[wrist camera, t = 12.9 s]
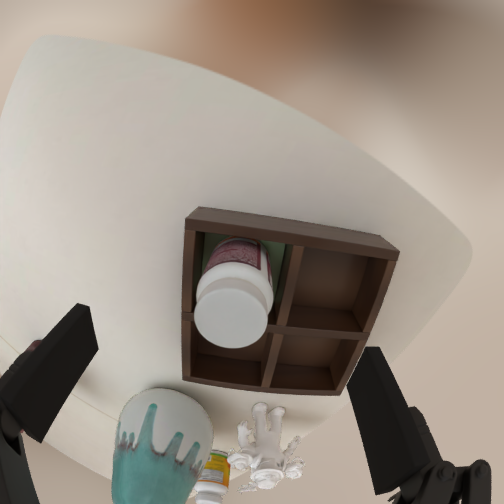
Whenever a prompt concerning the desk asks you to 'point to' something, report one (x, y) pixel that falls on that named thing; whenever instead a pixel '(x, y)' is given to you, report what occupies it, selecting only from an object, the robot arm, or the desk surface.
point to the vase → (160, 448)
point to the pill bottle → (235, 293)
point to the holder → (289, 303)
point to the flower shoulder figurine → (265, 450)
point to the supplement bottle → (213, 479)
